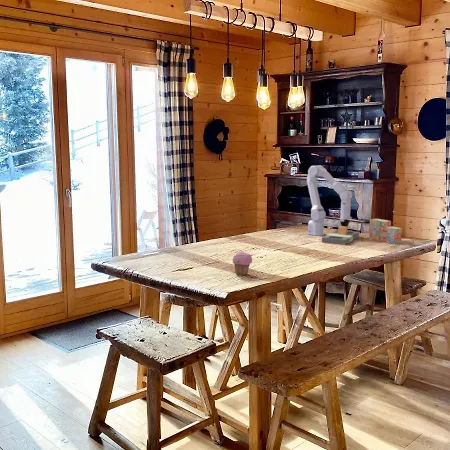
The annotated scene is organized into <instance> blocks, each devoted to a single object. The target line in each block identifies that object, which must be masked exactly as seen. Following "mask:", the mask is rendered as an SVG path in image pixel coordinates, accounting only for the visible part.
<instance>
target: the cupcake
mask: <svg viewBox="0 0 450 450" xmlns="http://www.w3.org/2000/svg"><path fill="white" fill-rule="evenodd" d="M252 263H253V257H252V255H251V253H250V254H249V253H247V252H243V251H240V252H236V253H235V255H234V256H233V257H232V264H234V272H235V274H236V275H238V276H245V275H247V274H248V273H249V269H250V266H251V265H250V264H252Z"/></svg>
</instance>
